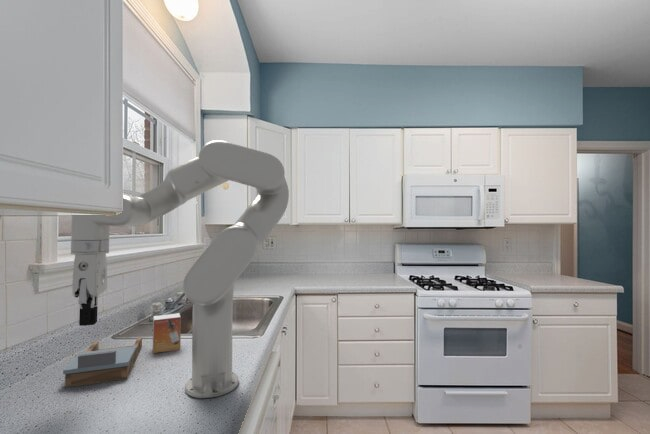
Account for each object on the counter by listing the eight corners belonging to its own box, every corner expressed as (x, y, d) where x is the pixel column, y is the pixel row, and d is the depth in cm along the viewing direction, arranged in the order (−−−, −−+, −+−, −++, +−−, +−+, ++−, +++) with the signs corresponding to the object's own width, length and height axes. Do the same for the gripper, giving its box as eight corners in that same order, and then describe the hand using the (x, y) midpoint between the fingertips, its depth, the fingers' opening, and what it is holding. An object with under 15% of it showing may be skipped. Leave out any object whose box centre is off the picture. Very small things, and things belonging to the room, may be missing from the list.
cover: (128, 365, 88) (128, 350, 88) (63, 374, 83) (63, 358, 83) (136, 349, 99) (136, 335, 99) (79, 356, 94) (79, 341, 94)
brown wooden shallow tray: (126, 378, 88) (127, 366, 88) (65, 387, 83) (65, 375, 83) (141, 346, 111) (141, 337, 111) (93, 352, 106) (94, 342, 106)
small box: (152, 354, 104) (153, 320, 104) (152, 348, 109) (152, 315, 109) (180, 349, 108) (181, 316, 108) (179, 344, 113) (179, 312, 113)
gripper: (100, 249, 75) (97, 332, 75) (115, 245, 89) (113, 314, 89) (59, 250, 72) (56, 336, 72) (82, 245, 86) (80, 317, 86)
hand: (88, 324), depth 80 cm, fingers closed
